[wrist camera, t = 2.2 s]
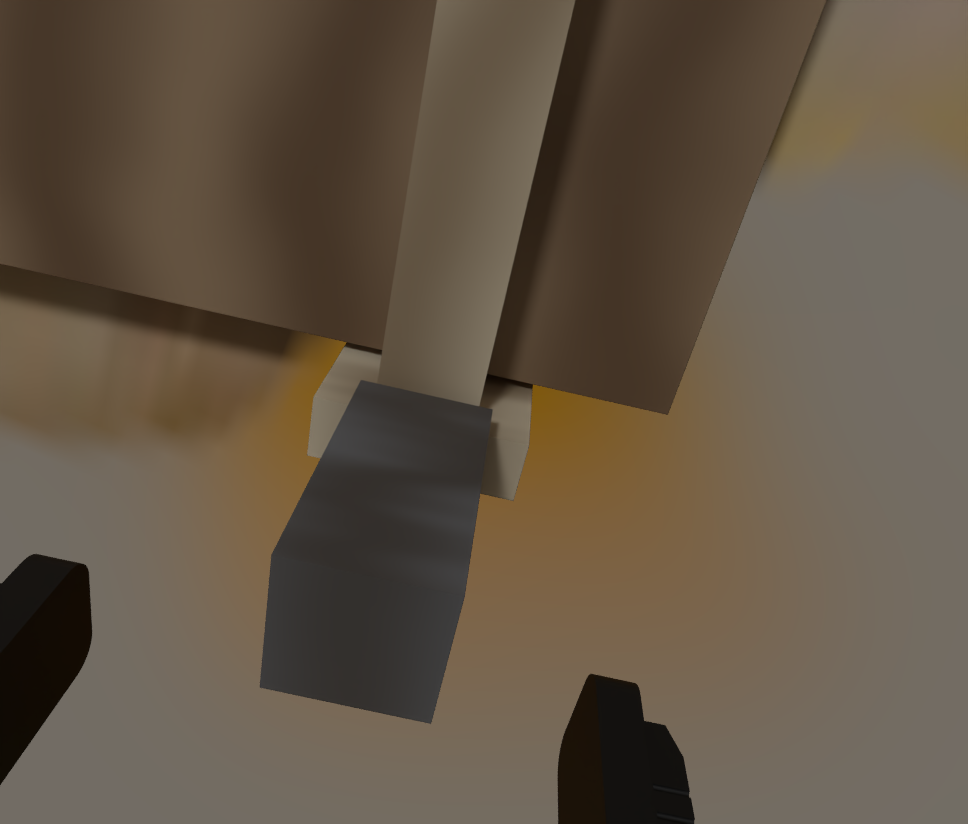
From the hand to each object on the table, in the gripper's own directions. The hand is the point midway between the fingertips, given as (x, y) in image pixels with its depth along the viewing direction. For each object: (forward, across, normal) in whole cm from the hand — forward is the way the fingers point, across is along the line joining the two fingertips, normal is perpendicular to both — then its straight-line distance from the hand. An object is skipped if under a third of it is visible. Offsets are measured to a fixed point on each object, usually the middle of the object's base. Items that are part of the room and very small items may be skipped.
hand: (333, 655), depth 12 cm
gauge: (+10, 0, -5) cm, 11 cm away
